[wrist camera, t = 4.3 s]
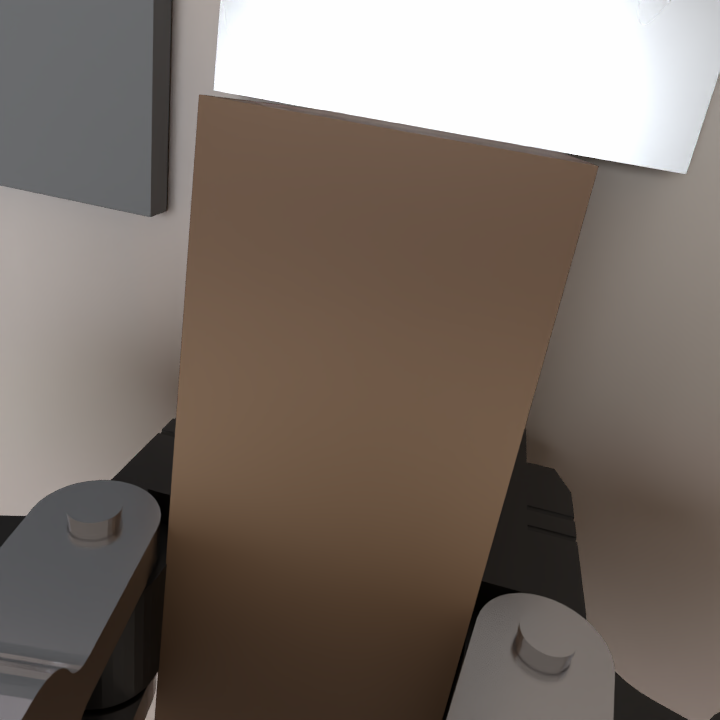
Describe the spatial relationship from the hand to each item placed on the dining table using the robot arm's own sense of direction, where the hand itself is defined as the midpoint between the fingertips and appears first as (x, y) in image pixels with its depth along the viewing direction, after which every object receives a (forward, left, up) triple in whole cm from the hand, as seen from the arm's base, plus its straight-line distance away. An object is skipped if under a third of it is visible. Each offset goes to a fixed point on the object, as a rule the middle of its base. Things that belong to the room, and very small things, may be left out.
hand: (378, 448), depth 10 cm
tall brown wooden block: (0, -2, -1) cm, 2 cm away
